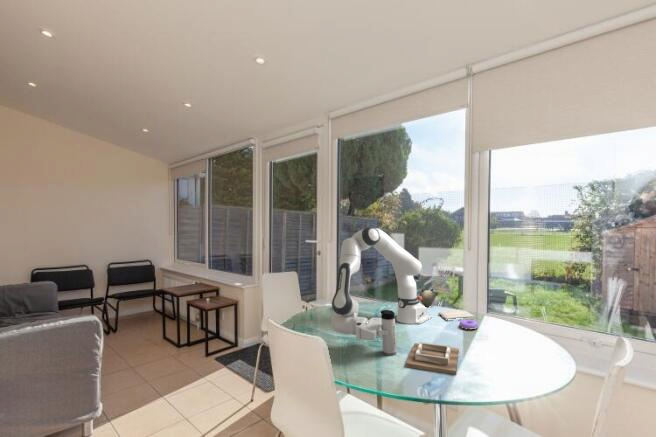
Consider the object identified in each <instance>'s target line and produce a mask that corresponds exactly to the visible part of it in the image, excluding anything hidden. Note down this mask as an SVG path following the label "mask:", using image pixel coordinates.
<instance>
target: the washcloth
mask: <svg viewBox="0 0 656 437" xmlns="http://www.w3.org/2000/svg"><path fill="white" fill-rule="evenodd" d="M437 314H438V315H439V316H440V315H441V316H443V317H444V318H445V319H447V320H448V319H456V318H468V317H474V318H475V315H474V314H471V313H470V312H469V311H468V310H467V311H466V310H465V309H464V310H459V309H455V310H454V309H453V310H440V311H439V312H438V313H437ZM441 316H440V317H441ZM443 317H442V318H443ZM444 318H443V319H444ZM445 319H444V320H445Z"/></svg>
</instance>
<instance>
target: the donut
mask: <svg viewBox="0 0 656 437" xmlns="http://www.w3.org/2000/svg"><path fill="white" fill-rule="evenodd" d="M460 326H461V327H463V328H467V329H470V328H475V327H477V326H478V327H479V324H478V322H477V321H476V320H475V319H472V320H468V319H466V320H459V327H460ZM461 327H460V328H461ZM463 328H462V329H463Z"/></svg>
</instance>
